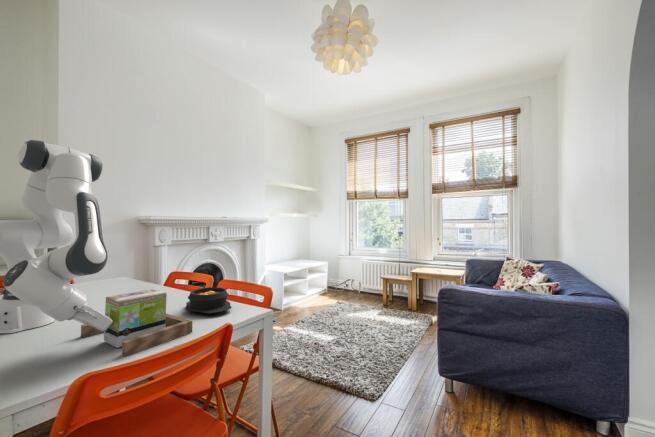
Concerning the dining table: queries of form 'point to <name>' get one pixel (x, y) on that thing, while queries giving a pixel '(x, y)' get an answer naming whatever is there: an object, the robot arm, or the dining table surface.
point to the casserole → (208, 300)
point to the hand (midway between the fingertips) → (105, 328)
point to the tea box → (134, 315)
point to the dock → (149, 335)
